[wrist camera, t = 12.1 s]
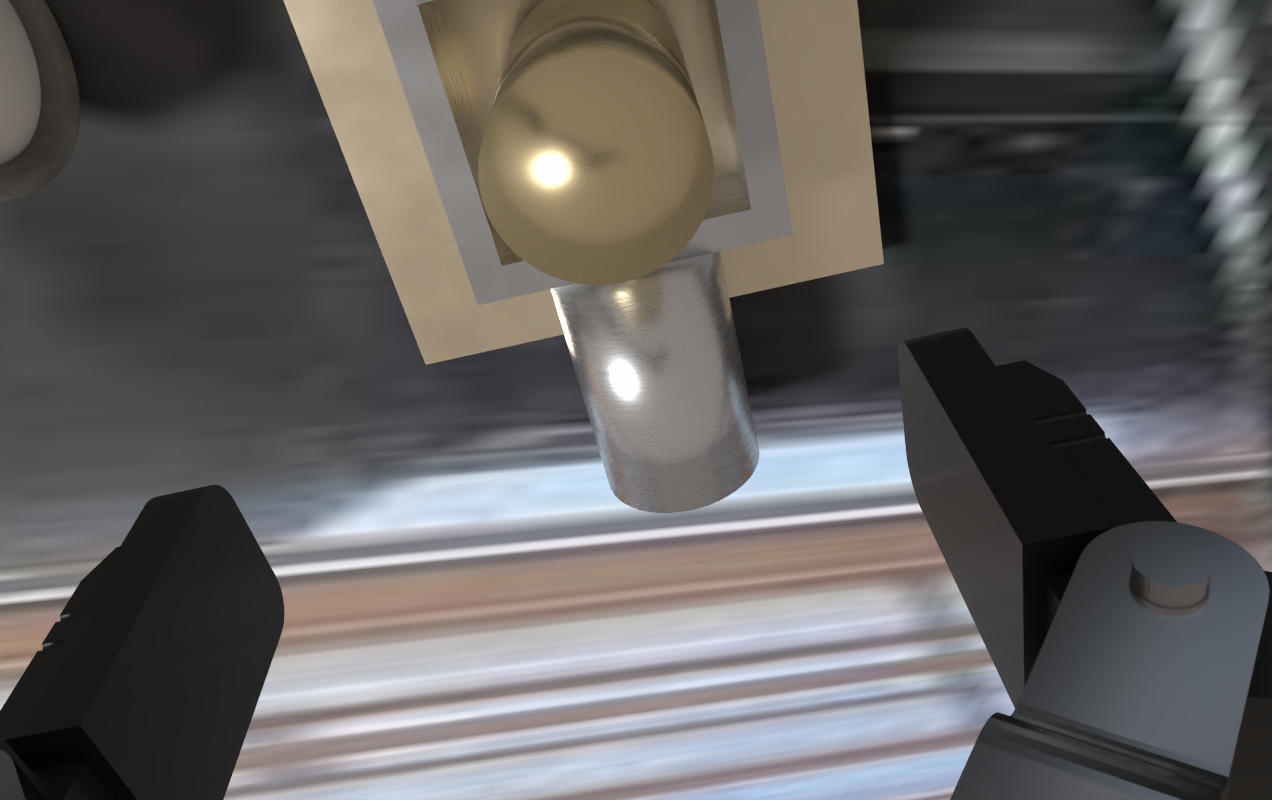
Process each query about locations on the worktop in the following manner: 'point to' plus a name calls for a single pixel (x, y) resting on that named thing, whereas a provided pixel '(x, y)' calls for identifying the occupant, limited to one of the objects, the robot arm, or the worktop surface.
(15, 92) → the pipe fitting
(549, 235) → the brass cylinder plug
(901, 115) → the worktop surface
